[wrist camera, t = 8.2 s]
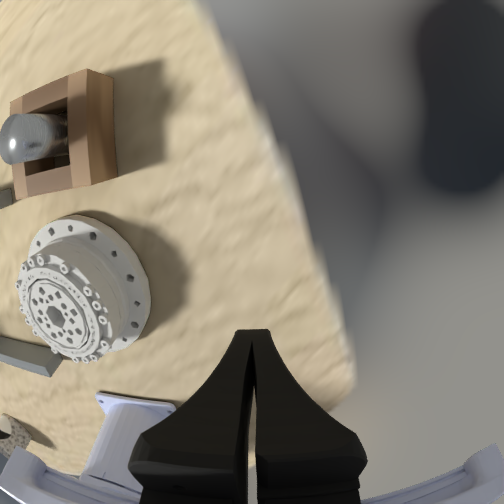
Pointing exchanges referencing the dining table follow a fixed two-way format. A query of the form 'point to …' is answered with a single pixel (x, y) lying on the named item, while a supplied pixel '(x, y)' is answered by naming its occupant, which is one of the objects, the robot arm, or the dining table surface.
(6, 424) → the mug
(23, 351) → the grey u-shaped bracket
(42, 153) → the pin
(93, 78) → the hollow wooden square
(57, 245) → the mechanical component
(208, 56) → the dining table surface
